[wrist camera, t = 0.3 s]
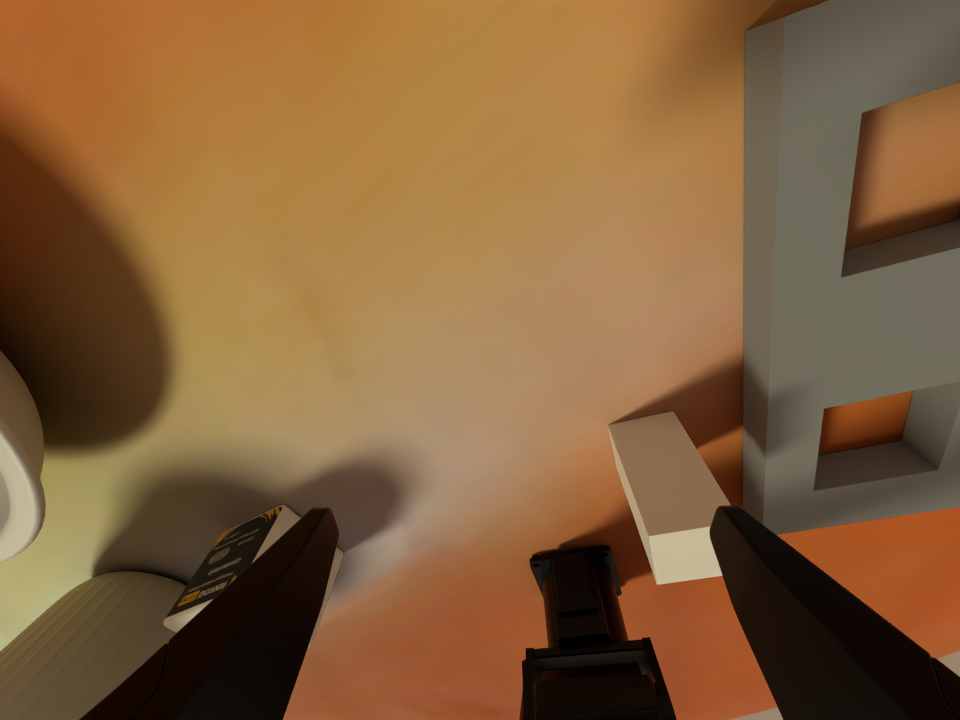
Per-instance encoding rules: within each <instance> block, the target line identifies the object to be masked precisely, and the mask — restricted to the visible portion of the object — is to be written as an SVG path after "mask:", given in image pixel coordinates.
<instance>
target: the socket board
mask: <svg viewBox="0 0 960 720" xmlns="http://www.w3.org/2000/svg"><path fill="white" fill-rule="evenodd" d="M957 82H960V0H828V1H825V2H822V3H820V4H817V5H814V6H812V7H809V8H806V9H804V10H801V11H798V12H796V13H793V14H790V15H788V16H785V17H782V18H780V19H777V20H774V21H771V22H769V23H766V24H763V25H761V26H758V27H755V28H753V29H750V30H747V31H745V99H744V323H743V507H744V509H745V510H746V512H747V513H749V514H750V515H751V516H753V517H754V518H755V519H756V520H758V521H759V522H760V523H762V524H763V525H764V526H766V527H767V528H768V529H769V530H771V531H772V532H773V533H775V534H776V535H777V534H784V533H791V532H797V531H804V530H810V529H817V528H824V527H830V526H837V525H843V524H850V523H857V522H863V521H870V520H877V519H883V518H890V517H896V516H903V515H910V514H916V513H923V512H929V511H936V510H943V509H949V508H956V507H960V215H959V219H958V220H956V221H952V222H949V223H945V224H941V225H937V226H934V227H930V228H926V229H922V230H919V231H915V232H911V233H907V234H903V235H900V236H896V237H892V238H888V239H885V240H881V241H877V242H873V243H870V244H866V245H862V246H858V247H855V248H851V249H847V250H844V249H845V241H846V234H847V226H848V218H849V210H850V203H851V195H852V187H853V179H854V172H855V164H856V156H857V148H858V141H859V133H860V125H861V117H862V113H863V112H866V111H869V110H873V109H876V108H879V107H882V106H885V105H888V104H891V103H894V102H897V101H901V100H904V99H907V98H910V97H913V96H916V95H919V94H922V93H926V92H929V91H932V90H935V89H938V88H941V87H944V86H947V85H950V84H954V83H957ZM909 391H914V392H913V396H912V399H911V403H910V407H909V411H908V415H907V419H906V423H905V426H904V430H903V434H902V438H901V441H896V442H890V443H885V444H879V445H874V446H868V447H863V448H857V449H852V450H846V451H841V452H835V453H830V454H824V455H819V456H818V451H819V443H820V436H821V428H822V420H823V412H824V409H825V408H830V407H835V406H840V405H845V404H850V403H855V402H860V401H865V400H870V399H875V398H880V397H885V396H890V395H895V394H899V393H904V392H909Z"/></svg>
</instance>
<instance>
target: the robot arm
mask: <svg viewBox="0 0 960 720" xmlns="http://www.w3.org/2000/svg"><path fill="white" fill-rule="evenodd" d="M709 533H710V540H711V543H712V546H713V549H714V552H715V555H716V558H717V561H718V564H719V567H720V570H721V572H722V575H723V578H724V581H725V584H726V587H727V590H728V593H729V596H730V599H731V602H732V605H733V607H734V610H735V612H736V615H737V617H738V620H739V622H740V624H741V626H742V629H743V631H744V633H745V635H746V637H747V640H748V642H749V644H750V646H751V649H752V651H753V653H754V655H755V657H756V660H757V662H758V664H759V666H760V669H761V671H762V673H763V675H764V677H765V680H766V682H767V684H768V686H769V688H770V691H771V693H772V695H773V697H774V700H775V702H776V704H777V706H778V708H779V711H780V713H781V715H782V717H783V720H960V677H959V676H958V675H957V674H955V673H954V672H953V671H952V670H950V669H949V668H948V667H946V666H945V665H944V664H943V663H941V662H940V661H939V660H937V659H936V658H933V657H932V658H931V656H930V654H929V653H928V652H927V651H926V650H924V649H923V648H922V647H920V646H919V645H918V644H916V643H915V642H914V641H913V640H911V639H910V638H909V637H907V636H906V635H905V634H904V633H902V632H901V631H900V630H898V629H897V628H896V627H895V626H893V625H892V624H891V623H889V622H888V621H887V620H886V619H884V618H883V617H882V616H880V615H879V614H878V613H876V612H875V611H874V610H873V609H871V608H870V607H869V606H867V605H866V604H865V603H864V602H862V601H861V600H860V599H858V598H857V597H856V596H855V595H853V594H852V593H851V592H849V591H848V590H847V589H846V588H844V587H843V586H842V585H840V584H839V583H838V582H836V581H835V580H834V579H833V578H831V577H830V576H829V575H827V574H826V573H825V572H824V571H822V570H821V569H820V568H818V567H817V566H816V565H815V564H813V563H812V562H811V561H809V560H808V559H807V558H806V557H804V556H803V555H802V554H800V553H799V552H798V551H796V550H795V549H794V548H793V547H791V546H790V545H789V544H787V543H786V542H785V541H784V540H782V539H781V538H780V537H778V536H777V535H776V534H775V533H773V532H772V531H771V530H769V529H768V528H767V527H766V526H764V525H763V524H762V523H760V522H759V521H758V520H756V519H755V518H754V517H753V516H751V515H750V514H749V513H747V512H746V511H745V510H744V509H742V508H741V507H739V506H735V505H722V506H719V507H718V508H717V509H716V511H715V514H714V517H713V520H712V523H711V526H710V532H709ZM338 537H339V530H338V527H337V524H336V521H335V518H334V515H333V512H332V510H331V509H330V508H328V507H315V508H312V509H311V510H309V511H308V512H307V513H306V514H305V515H304V516H303V517H302V518H301V519H300V520H298V521H297V522H296V523H295V524H294V525H293V526H292V527H291V528H290V529H289V530H288V531H287V532H285V533H284V534H283V535H282V536H281V537H280V538H279V539H278V540H277V541H276V542H275V543H274V544H272V545H271V546H270V547H269V548H268V549H267V550H266V551H265V552H264V553H263V554H262V555H261V556H259V557H258V558H257V559H256V560H255V561H254V562H253V563H252V564H251V565H250V566H249V567H248V568H246V569H245V570H244V571H243V572H242V573H241V574H240V575H239V576H238V577H237V578H236V579H235V580H233V581H232V582H231V583H230V584H229V585H228V586H227V587H226V588H225V589H224V590H223V591H222V592H220V593H219V594H218V595H217V596H216V597H215V598H214V599H213V600H212V601H211V602H210V603H209V604H207V605H206V606H205V607H204V608H203V609H202V610H201V611H200V612H199V613H198V614H197V615H196V616H194V617H193V618H192V619H191V620H190V621H189V622H188V623H187V624H186V625H185V626H184V627H183V628H181V629H180V630H179V631H178V632H177V633H176V634H175V635H174V636H173V637H172V638H171V639H170V640H169V642H168V643H166V644H164V645H163V646H162V647H161V648H160V649H159V650H157V651H156V652H155V653H154V654H153V655H152V656H151V657H150V658H149V659H148V660H147V661H145V662H144V663H143V664H142V665H141V666H140V667H139V668H138V669H137V670H135V671H134V672H133V673H132V674H131V675H130V676H129V677H128V678H126V679H125V680H124V681H123V682H122V683H121V684H120V685H119V686H118V687H116V688H115V689H114V690H113V691H112V692H111V693H109V694H108V695H107V696H106V697H105V698H103V699H102V700H101V701H100V702H99V703H98V704H96V705H95V706H94V707H93V708H92V709H90V710H89V711H88V712H87V713H86V714H85V715H83V716H82V717H81V718H80V719H79V720H283V717H284V714H285V712H286V709H287V706H288V703H289V700H290V697H291V694H292V691H293V689H294V686H295V683H296V680H297V677H298V674H299V671H300V668H301V666H302V663H303V660H304V657H305V654H306V651H307V648H308V645H309V643H310V640H311V637H312V634H313V631H314V628H315V625H316V622H317V620H318V617H319V614H320V610H321V607H322V604H323V600H324V597H325V593H326V588H327V584H328V580H329V576H330V572H331V568H332V563H333V559H334V555H335V551H336V547H337V543H338ZM530 567H531V570H532V572H533V574H534V577H535V579H536V581H537V584H538V586H539V588H540V591H541V593H542V595H543V598H544V607H545V618H546V628H547V638H548V648H541V649H534V648H526V659H525V660H524V661H522V674H523V693H522V702H521V711H520V719H519V720H676V716H675V713H674V709H673V706H672V703H671V700H670V697H669V694H668V691H667V688H666V685H665V682H664V679H663V676H662V673H661V670H660V667H659V664H658V661H657V658H656V655H655V652H654V649H653V646H652V643H651V640H650V637H647V638H642V640H632V641H629V640H628V636H627V632H626V629H625V625H624V621H623V617H622V613H621V609H620V605H619V601H618V597H617V596H620V595H621V594H622V592H621V588H620V584H619V580H618V576H617V572H616V568H615V565H614V561H613V557H612V553H611V549H610V547H608V546H600V547H593V548H587V549H581V550H574V551H568V552H562V553H555V554H549V555H543V556H536V557H532V558H531V559H530Z"/></svg>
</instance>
